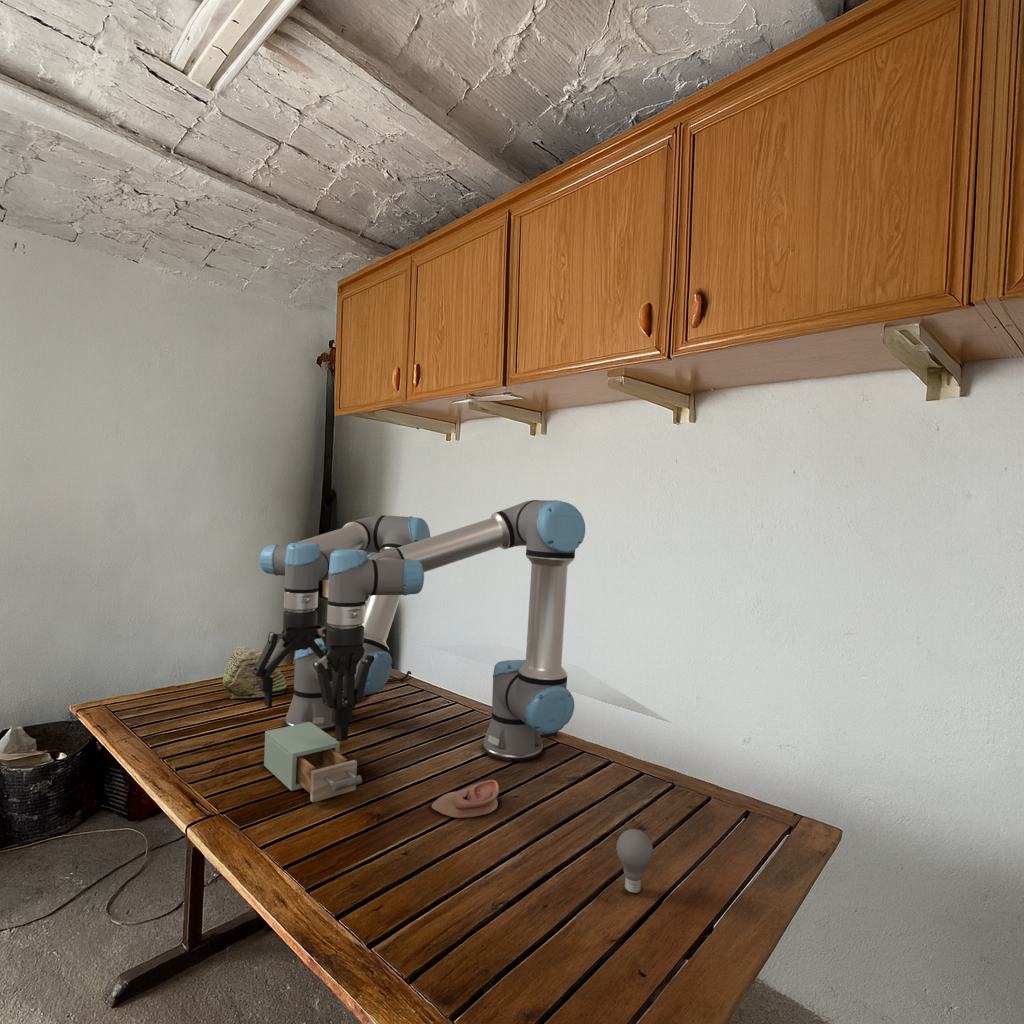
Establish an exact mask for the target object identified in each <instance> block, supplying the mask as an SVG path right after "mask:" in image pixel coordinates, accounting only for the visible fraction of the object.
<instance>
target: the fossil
mask: <svg viewBox="0 0 1024 1024" xmlns="http://www.w3.org/2000/svg"><path fill="white" fill-rule="evenodd" d="M263 650H264V648H260V647H258V648H251V647H247V646H246V647H245V646H238V647H237V648H236V649H235V650H233V651H232V653H231V656H230V657H229V659H228V660H227V663H226V666H225V668H224V671H223V675H222V676H223V677H222V685H223V687H224V688H225V690H226V691H228V693H229V698H230V699H250V698H264V695H265V692H262V691H261V677H257V676H256V675H254V674H253V673H252V672H253V669H254V667H255V665H256V663H257V662H258V660H259V658H260V656H261V654H262V652H263ZM271 659H272V658H271V657H270V659H269V661H270V660H271ZM269 661H268V663H269ZM268 663H267V664H268ZM270 677H272V678H273V691H272V696H275V695H281V694H284V693H285V691H286V689H287V687H288V686H287V680H286V678H285V676H284V674H283V673H282V672H281V669H279V668H278V667H277V668H276V669H275V670H274V672H273V673H272V674H271V675H270Z"/></svg>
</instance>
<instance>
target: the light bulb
mask: <svg viewBox="0 0 1024 1024" xmlns="http://www.w3.org/2000/svg"><path fill="white" fill-rule="evenodd" d="M615 849H616V854H617V857H618V859H619V861H620V863H621V865H622V867H623V873H624V874H623V875H624V876H625V878H624V888H625V890H627V891H628V892H630V893H634V894H635V893H639V892H640V891H641V889H642V887H641V886H642V879H643V877H644V875H645V871H646V868H647V867H648V866H649V864H650V863H651V861H652V859H653V855H654V847H653V843H652V841H651V838H649V836H648V835H647V834H646V833H645V832H643V831H642V830H641V829H636V828H629V829H627V830H625V831H623V832H622V833H621V834H620V835H619V837H618V839H617V841H616V847H615Z"/></svg>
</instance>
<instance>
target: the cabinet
mask: <svg viewBox="0 0 1024 1024" xmlns="http://www.w3.org/2000/svg"><path fill="white" fill-rule="evenodd" d="M328 749H334V750H335V751H336V752H338V753H339V754H340V755H341V752H340V750H341V741H339V740H338V739H337V738H335V737H333V736H331V735H330V734H328V733H327V732H325V731H323V730H321V729H320V728H318V727H317V726H315V725H314V724H312V723H311V722H307V723H302V724H297V725H292V726H284V727H278V728H273V729H269V730H265V732H264V756H263V766H264V767H265V768H266V769H267V770H268V771H269V772H270V773H271V774H272V775H274V776H275V777H276V778H277V779H278V780H279V781H280V782H281V783H282V784H283V785H284V786H285V787H286V788H287V789H289V791H291V792H292V791H297V790H301V789H304V788H303V787H302V786H301V785H300V784H299V783H298V782H296V765H297V757H299V756H303V755H307V754H311V753H315V752H319V751H324V750H328Z"/></svg>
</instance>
